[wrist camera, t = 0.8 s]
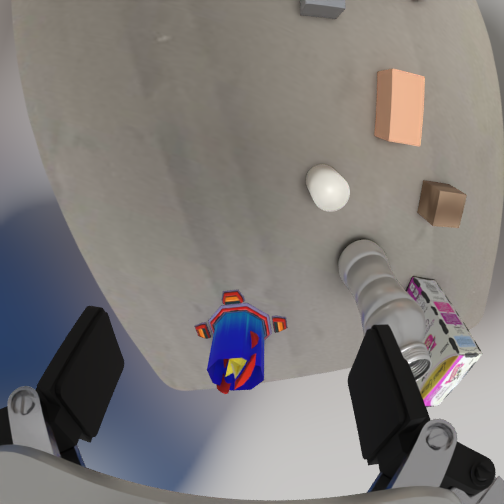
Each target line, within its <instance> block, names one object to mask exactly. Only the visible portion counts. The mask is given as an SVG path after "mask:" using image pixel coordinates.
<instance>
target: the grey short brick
mask: <svg viewBox="0 0 504 504" xmlns="http://www.w3.org/2000/svg"><path fill="white" fill-rule="evenodd" d="M344 10H345V0H300V15H306V16H316V17H324V18H332V19H336V18H337V17H338V16H339V15H340V14H341V13H342V12H343V11H344Z"/></svg>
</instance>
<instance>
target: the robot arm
mask: <svg viewBox="0 0 504 504" xmlns="http://www.w3.org/2000/svg"><path fill="white" fill-rule="evenodd" d="M123 368H124V359H123V356H122V354H121V351H120V348H119V346H118V343H117V340H116V337H115V334H114V331H113V328H112V325H111V322H110V319H109V316H108V313H107V312H105V311H104V309H103V308H100V307H94V306H88V307H87V308H86V309H85V310H84V312H83V313H82V314H81V316H80V317H79V319H78V320H77V322H76V323H75V325H74V326H73V328H72V329H71V331H70V332H69V334H68V335H67V337H66V338H65V340H64V342H63V343H62V345H61V346H60V348H59V349H58V351H57V353H56V354H55V356H54V357H53V359H52V361H51V362H50V364H49V366H48V367H47V369H46V371H45V372H44V374H43V376H42V377H41V379H40V381H39V383H38V384H37V388H36V390H34V389H33V388H31V387H27V386H24V387H20V388H18V389H16V390H15V391H13V392H12V394H11V395H10V397H9V399H8V406H7V407H4V408H2V409H0V504H504V481H503V480H502V478H501V477H500V476H498V477H497V478H496V477H495V467H494V464H493V462H492V461H491V460H490V459H489V458H487V457H486V456H484V455H482V454H480V453H478V452H476V451H474V450H472V449H470V448H468V447H466V446H464V445H462V444H461V443H459V442H457V433H456V431H455V428H454V427H453V426H452V425H451V423H449V422H447V421H446V420H443V419H433V420H430V418H429V415H428V412H427V409H426V406H425V404H424V401H423V398H422V396H421V393H420V390H419V388H418V385H417V383H416V380H415V378H414V375H413V373H412V370H411V368H410V365H409V363H408V361H407V360H406V359H405V358H404V357H403V355H402V353H401V350H400V348H399V346H398V343H397V341H396V339H395V337H394V334H393V332H392V330H391V328H390V326H389V325H388V324H383V325H373V326H372V327H371V329H367V331H366V333H365V336H364V339H363V341H362V344H361V346H360V349H359V351H358V354H357V356H356V359H355V361H354V364H353V366H352V368H351V371H350V373H349V376H348V386H349V391H350V396H351V400H352V405H353V410H354V415H355V419H356V424H357V430H358V434H359V440H360V445H361V451H362V456H363V458H364V459H367V462H368V465H373V464H379V469H380V473H379V475H378V476H377V478H376V479H375V481H374V482H373V484H372V485H371V487H370V489H369V490H368V492H367V493H362V494H355V495H348V496H340V497H331V498H321V499H308V500H285V501H263V500H238V499H225V498H215V497H206V496H198V495H191V494H185V493H179V492H173V491H168V490H163V489H159V488H154V487H149V486H145V485H141V484H137V483H133V482H130V481H126V480H122V479H119V478H116V477H113V476H109V475H106V474H103V473H100V472H97V471H94V470H91V469H89V468H86V466H85V463H84V461H83V459H82V456H81V454H80V451H79V448H78V446H77V443H78V440H79V439H82V440H85V441H87V442H91V440H92V437H95V436H96V435H97V433H98V431H99V428H100V425H101V423H102V420H103V417H104V415H105V412H106V410H107V407H108V404H109V402H110V400H111V397H112V395H113V392H114V389H115V387H116V385H117V382H118V380H119V378H120V375H121V373H122V371H123Z"/></svg>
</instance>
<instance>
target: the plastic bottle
mask: <svg viewBox="0 0 504 504" xmlns="http://www.w3.org/2000/svg"><path fill="white" fill-rule="evenodd" d="M338 264H339V274H340V277H341V279H342V281H343V282H344V284H345V285H346V287H347V288H348V289H349V290H350V291H351V293H352V295H353V297H354V299H355V300H356V303H357V306H358V310H359V313H360V316H361V321H362V327H363V333H364V336H365V333H366V331H367V329H371V327H372V326H373V325H383V324H388V325H389V326H390V328H391V330H392V332H393V334H394V337H395V339H396V341H397V343H398V346H399V348H400V350H401V353H402V355H403V357H404V358H405V359H406V360H407V361H408V363H409V365H410V368H411V370H412V373H413V375H414V378H415V380H416V381H418V380H419V379H421V378H422V377H424V376H425V375H426V374H427V373H428V371H429V370H430V368H431V366H432V362H431V358H430V356H429V354H428V349H427V347H426V345H425V344H424V343H423V340H424V336H425V331H426V320H425V315H424V312H423V310H422V309H421V307H420V306H419V305H418V303H416V301H415V300H414V299H413V298H412V297H411V296H410V295H409V294H408V293H407V292H406V291H405V290H404V289H403V287H402V286H401V284H400V283H399V282H398V280H397V279H396V278H395V276H394V274H393V272H392V270H391V268H390V266H389V262H388V259H387V257H386V254H385V252H384V250H383V249H382V248H381V247H380V246H378V245H377V244H376V243H375V242H373V241H371V240H358V241H355V242H353V243H351V244H350V245H348V246H347V247H346V248H345V249H344V251H343V252H342V254H341V255H340V258H339V263H338Z"/></svg>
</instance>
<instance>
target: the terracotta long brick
mask: <svg viewBox="0 0 504 504" xmlns="http://www.w3.org/2000/svg"><path fill="white" fill-rule="evenodd" d="M424 86H425V77H423V76H420V75H416V74H412V73H409V72H405V71H401V70H396V69H388V70H383V71H378V72H377V103H376V121H375V135H374V136H376V137H379V138H381V139H384V140H387V141H391V142H397V143H403V144H409V145H415V146H420V144H421V134H422V123H423V109H424Z"/></svg>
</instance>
